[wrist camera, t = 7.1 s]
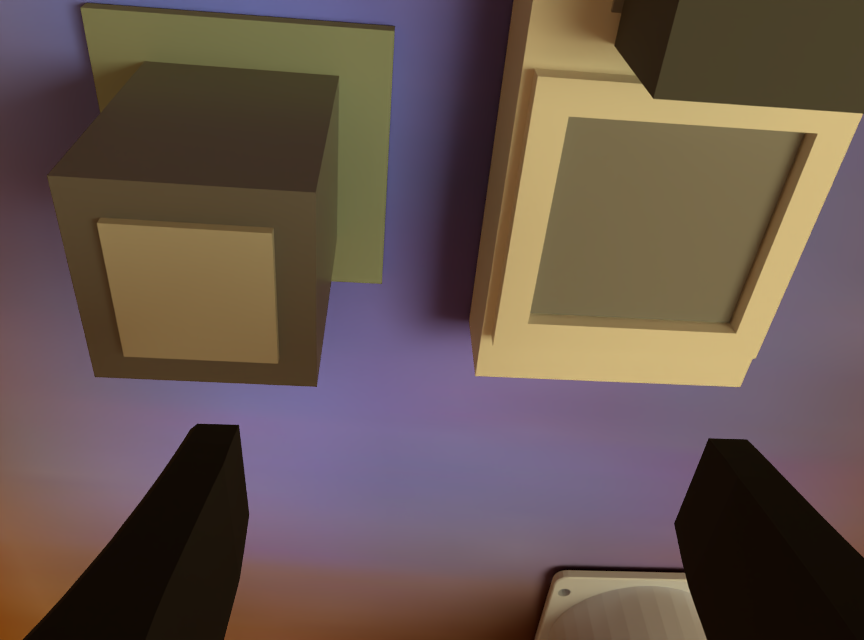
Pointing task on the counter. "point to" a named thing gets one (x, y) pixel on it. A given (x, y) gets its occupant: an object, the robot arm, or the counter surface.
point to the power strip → (635, 214)
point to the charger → (205, 224)
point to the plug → (748, 51)
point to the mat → (288, 52)
